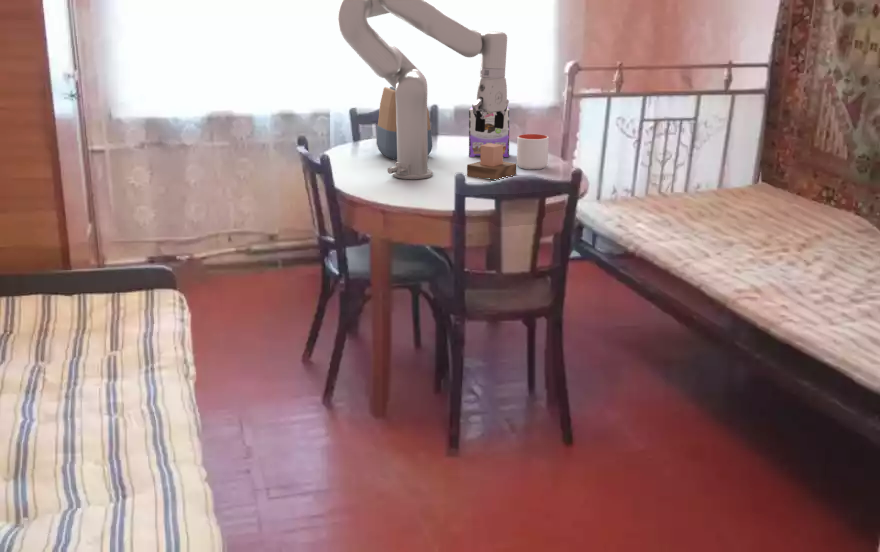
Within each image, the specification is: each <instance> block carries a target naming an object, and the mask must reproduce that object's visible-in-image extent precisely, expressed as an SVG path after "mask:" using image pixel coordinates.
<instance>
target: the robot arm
mask: <svg viewBox="0 0 880 552" xmlns="http://www.w3.org/2000/svg"><path fill="white" fill-rule="evenodd" d="M386 14H391V15H394V16H395V17H397V19H400V20H401V21H403V22H405V23H407V24H408V25H410V26H412V27H414V28H415V29H416V30H418V31H420V32H421V33H423V34H425V35H426V36H429V37H431V38H432V39H434V40H436V41H437V42H439V43H441V44H442V45H444V46H446V47H447V48H449V49H451V50H452V51H454V52H456V53H458V54H459V55H461V56H463V57H465V58H474V57H476V56H478V55H480V71H479V82H478V85H477V94H476V101H475V102H473V104H472V105H471V107H472V108H473V113H474V115H475V118H476V124H475V131H478V132H484V131H485V119H484V117H485V115H486V113H487V112H489V113H492V112H496V114H497V115H495V121H494V127H495V128H499V129H503V126H504V116H505V112H506V110H507V107H508V106H509V102H510V101H509V99H508V98H507V97H508V88H507V86H508V85H507V79H506V67H507V66H506V63H507V62H506V61H507V49H508V48H507V47H508V35H507V34H506V32H503V31H490V30H489V31H480V30H474V29H469V28H468V27H466V26H464V25H463V24H461V23H459V22H458V21H456V20H455V19H453V18H451V17H450V16H449V15H447V14H446V13H445V12H444V11H443V10H442V9H440V8H439V7H438V6H436V5H435V4H433V3H432V2H430V1H428V0H341V3H340V5H339V10H338V15H337V25H338V29H339V31H340V34H341V35H342V37H343V38H344V40H345V42H346V43H347V44H348V46H350V47H351V49H353V51H354V52H356V54H357V55H358V56H359V57H360V58H361V59H362V60H363V61H364V62H365V64H366V65H367V66H368V67H369V68H370V69H371V70H372V71H373V72H374V73H375V74H376V75H377V76H378V77H380V78H382V79H384V80H386V82H388V84H390V86H391V87H394V88H395V89H396V91H395V96H396V126H397V160H396V162H395V163H394V166H389V167H387V170H386V171H387V173H388V174H389V175H391V174H392V175H391V176H393V177H394V178H396V179H402V180H422V179H428V178H430V177H432V176H433V175H434V173H433V170H431V169H429V168H428V167H429V165H428V163H429V162H428V161H429V160H428V158H429V155H428V142H427V108H428V82H427V79H426V77H425V76H424V74H423V73H422V72H421V71H420V69H419V68H418V67H416V66H415V65H414V63H412V61H410V60H409V58H408V57H407V56H406V55H405V54H404V53H403V52H402V51H401V50H400V49H399V48H397V47H396V46H394V45H392V44H388V43H387V42H386V41H385V39H383V37H381V36H380V35H379V34H378V32H377V31H376V30H375V29H373V27H372V26H371V25H370V24H369V22H368V18H373V17H377V16H381V15H386ZM481 112H483V113H482V114H481Z"/></svg>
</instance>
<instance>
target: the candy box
mask: <svg viewBox="0 0 880 552" xmlns="http://www.w3.org/2000/svg"><path fill="white" fill-rule="evenodd" d="M510 110H511V109H510V107H508V106H507V110H506V112H505V116H504V126H503V129H499V128H495V127H494V121H495V115H497V114H496V112H492V113H489V112H487V113H486V115H485V117H484V119H485V131H484V132H478V131H475V124H476V118H475V115H474V113H473V108H472V106H471V107H469V110H468V157H469V158H481V145H484V144H489V143H493V144H500V145H503V158H509V157H510V138H511V137H510V136H511V135H510V130H511V128H510V122H511V121H510V114H511V113H510ZM482 113H483V112H481V114H482Z"/></svg>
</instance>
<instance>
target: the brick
mask: <svg viewBox="0 0 880 552" xmlns="http://www.w3.org/2000/svg"><path fill="white" fill-rule="evenodd" d="M503 162H504V157H503V145H500V144H493V143H489V144H484V145H481V157H480V164H481V165H487V166H493V167H494V166H497V165H501V164H503Z"/></svg>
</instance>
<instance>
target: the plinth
mask: <svg viewBox="0 0 880 552" xmlns="http://www.w3.org/2000/svg"><path fill="white" fill-rule="evenodd" d="M466 165H467V166H466V176H467V175H468V176H467V177H473V178H477V177H479V178H478V179H483V178H490V179H499V178H502V177H506V176H510V177H512V176H511V175H513V176H515V175H514V174H516V175H517V162H516V163H515V162H510V161H509V162H508V161H503V164H501V165H497V166H494V167H493V166H487V165H481V164H480V161H476V162H472V163H468V164H466ZM506 178H507V177H506ZM499 180H500V179H499Z"/></svg>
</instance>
